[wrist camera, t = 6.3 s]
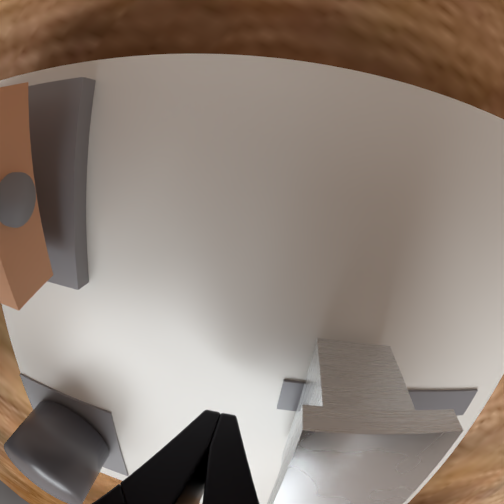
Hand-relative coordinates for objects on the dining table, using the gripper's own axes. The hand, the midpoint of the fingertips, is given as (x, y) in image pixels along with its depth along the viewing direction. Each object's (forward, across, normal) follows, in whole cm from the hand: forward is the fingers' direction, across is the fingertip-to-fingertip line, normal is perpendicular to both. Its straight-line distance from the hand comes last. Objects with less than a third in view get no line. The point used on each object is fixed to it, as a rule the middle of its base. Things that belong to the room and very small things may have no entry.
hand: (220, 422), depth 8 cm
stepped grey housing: (+2, -3, 0) cm, 3 cm away
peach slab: (-1, +7, -5) cm, 9 cm away
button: (+1, +7, +6) cm, 9 cm away
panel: (+4, 0, 0) cm, 4 cm away
